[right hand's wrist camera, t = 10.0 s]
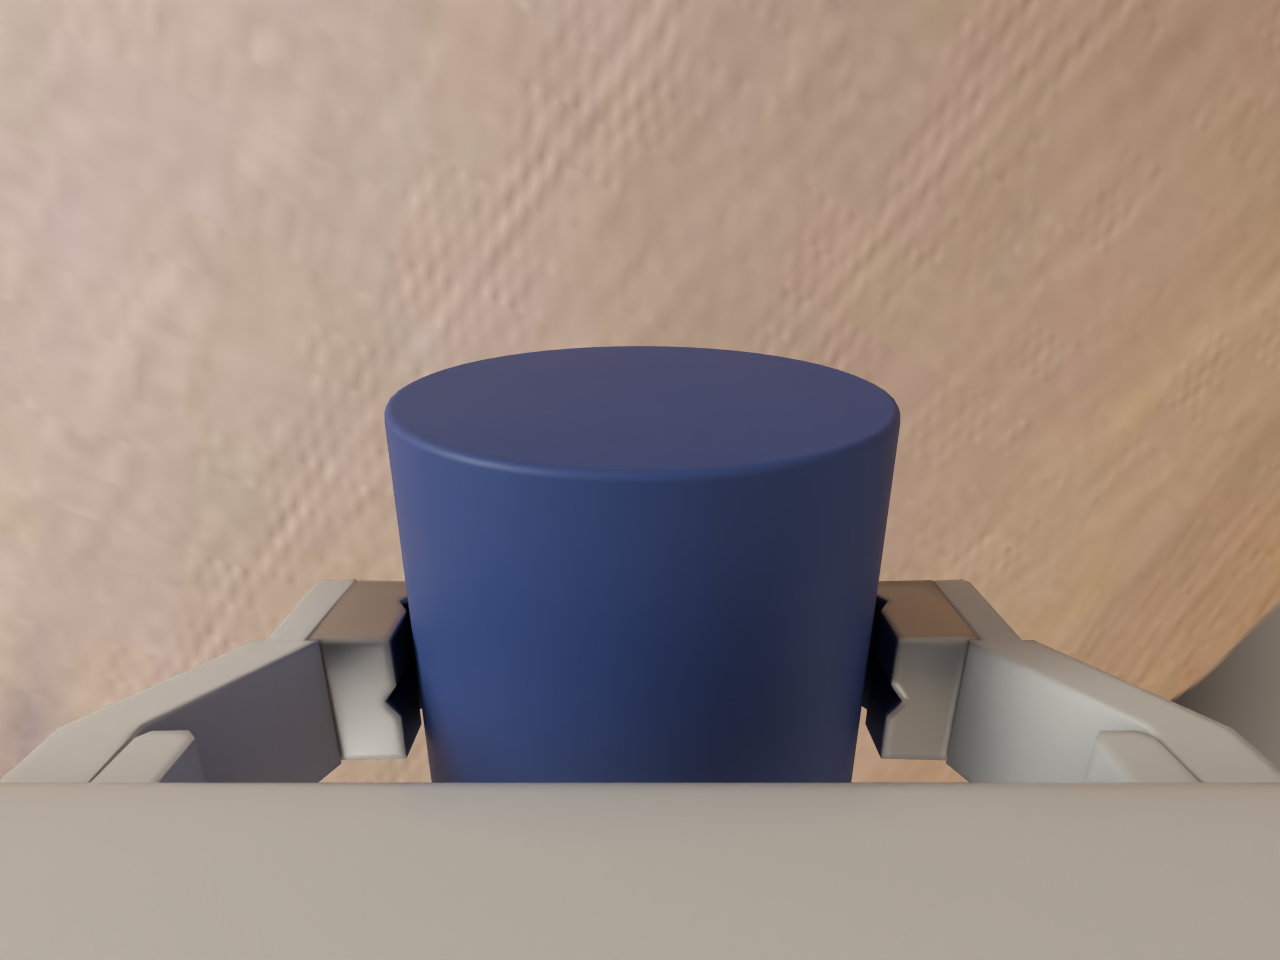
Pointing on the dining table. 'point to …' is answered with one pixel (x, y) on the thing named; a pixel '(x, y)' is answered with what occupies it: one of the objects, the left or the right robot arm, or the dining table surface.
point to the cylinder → (641, 563)
